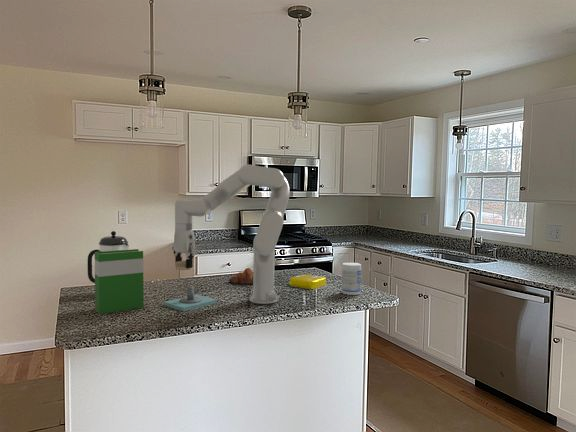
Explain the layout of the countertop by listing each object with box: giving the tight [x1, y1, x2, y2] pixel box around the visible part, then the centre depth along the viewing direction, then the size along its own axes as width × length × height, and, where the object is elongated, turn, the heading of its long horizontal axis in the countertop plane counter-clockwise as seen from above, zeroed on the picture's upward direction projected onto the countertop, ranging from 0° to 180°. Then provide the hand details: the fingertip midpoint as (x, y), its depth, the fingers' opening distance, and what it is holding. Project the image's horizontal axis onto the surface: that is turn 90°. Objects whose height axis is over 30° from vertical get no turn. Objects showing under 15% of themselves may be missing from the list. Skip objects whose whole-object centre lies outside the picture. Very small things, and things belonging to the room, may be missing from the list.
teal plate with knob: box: [163, 286, 218, 312], centre depth 194 cm, size 14×18×8 cm
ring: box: [175, 260, 193, 271], centre depth 199 cm, size 7×7×3 cm
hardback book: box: [94, 248, 145, 315], centre depth 185 cm, size 18×7×24 cm, turn 125°
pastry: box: [228, 267, 253, 286], centre depth 240 cm, size 17×15×8 cm
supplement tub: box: [341, 262, 362, 296], centre depth 218 cm, size 10×10×15 cm
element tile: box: [289, 273, 327, 290], centre depth 236 cm, size 15×15×5 cm
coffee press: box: [87, 230, 131, 284], centre depth 208 cm, size 17×16×30 cm
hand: (183, 266), depth 199 cm, fingers closed on ring, 7 cm apart
